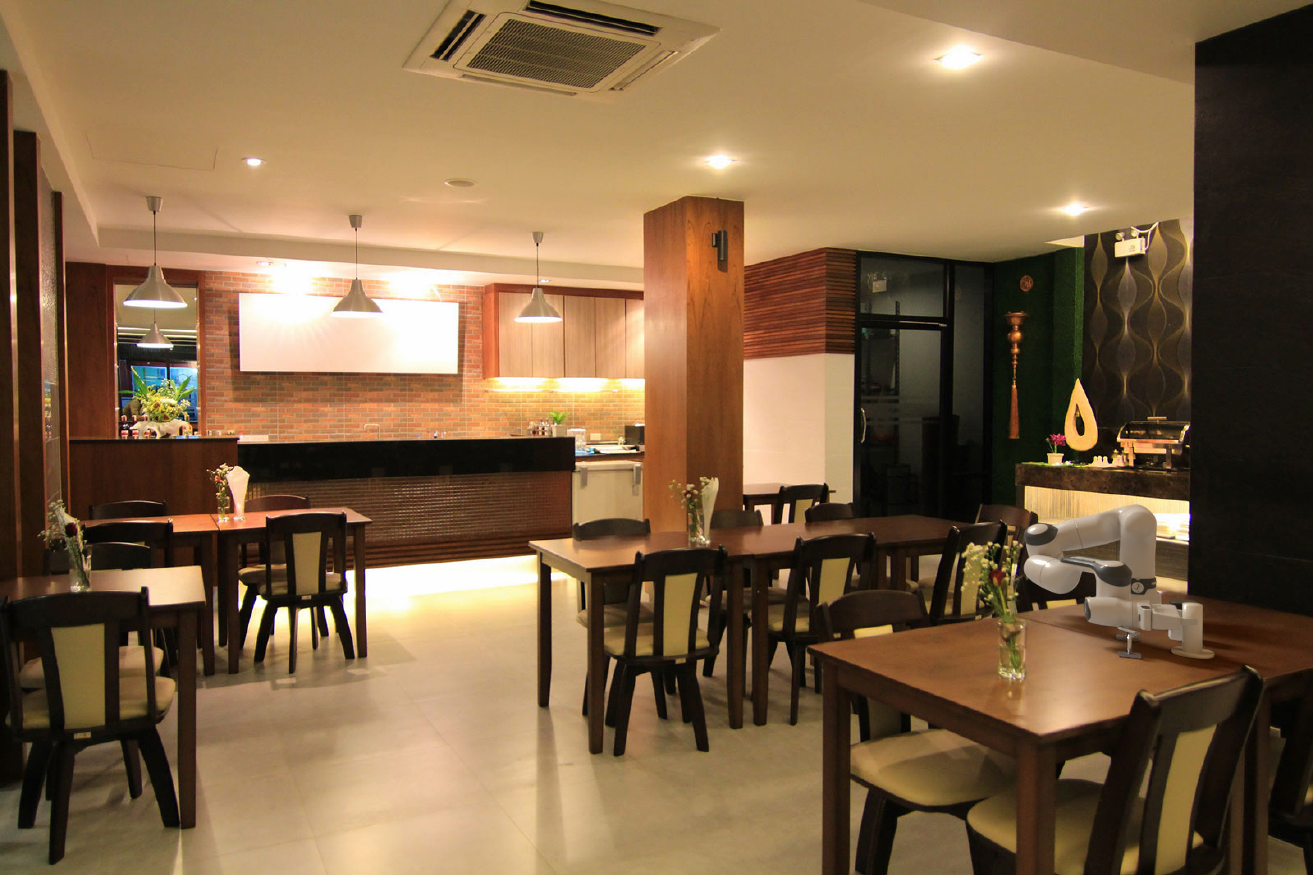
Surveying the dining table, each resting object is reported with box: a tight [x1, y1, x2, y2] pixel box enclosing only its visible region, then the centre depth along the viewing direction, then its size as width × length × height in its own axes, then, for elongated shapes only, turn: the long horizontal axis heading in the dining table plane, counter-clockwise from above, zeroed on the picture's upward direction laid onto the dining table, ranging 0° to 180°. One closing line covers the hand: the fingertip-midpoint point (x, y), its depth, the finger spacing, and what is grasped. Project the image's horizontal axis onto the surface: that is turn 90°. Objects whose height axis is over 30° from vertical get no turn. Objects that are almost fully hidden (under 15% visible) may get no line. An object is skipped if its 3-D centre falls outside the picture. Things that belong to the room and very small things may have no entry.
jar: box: [1167, 598, 1200, 642], centre depth 286 cm, size 9×8×12 cm
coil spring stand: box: [1116, 626, 1142, 660], centre depth 276 cm, size 25×6×6 cm, turn 154°
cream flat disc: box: [1170, 645, 1215, 660], centre depth 269 cm, size 11×11×1 cm
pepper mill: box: [1181, 602, 1204, 653], centre depth 268 cm, size 5×5×14 cm
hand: (1196, 618), depth 268 cm, fingers open, 8 cm apart
